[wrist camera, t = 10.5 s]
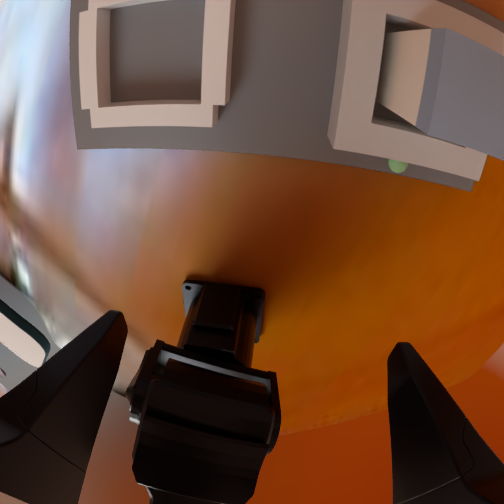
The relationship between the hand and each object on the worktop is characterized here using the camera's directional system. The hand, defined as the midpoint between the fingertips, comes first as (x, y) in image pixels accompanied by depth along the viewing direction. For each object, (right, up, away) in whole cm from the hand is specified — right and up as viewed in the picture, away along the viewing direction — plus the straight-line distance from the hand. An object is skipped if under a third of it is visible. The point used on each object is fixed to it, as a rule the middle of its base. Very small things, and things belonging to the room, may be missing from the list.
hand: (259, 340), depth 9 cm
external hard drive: (-39, -5, +24) cm, 46 cm away
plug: (+9, +12, +4) cm, 15 cm away
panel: (+2, +13, +5) cm, 14 cm away
